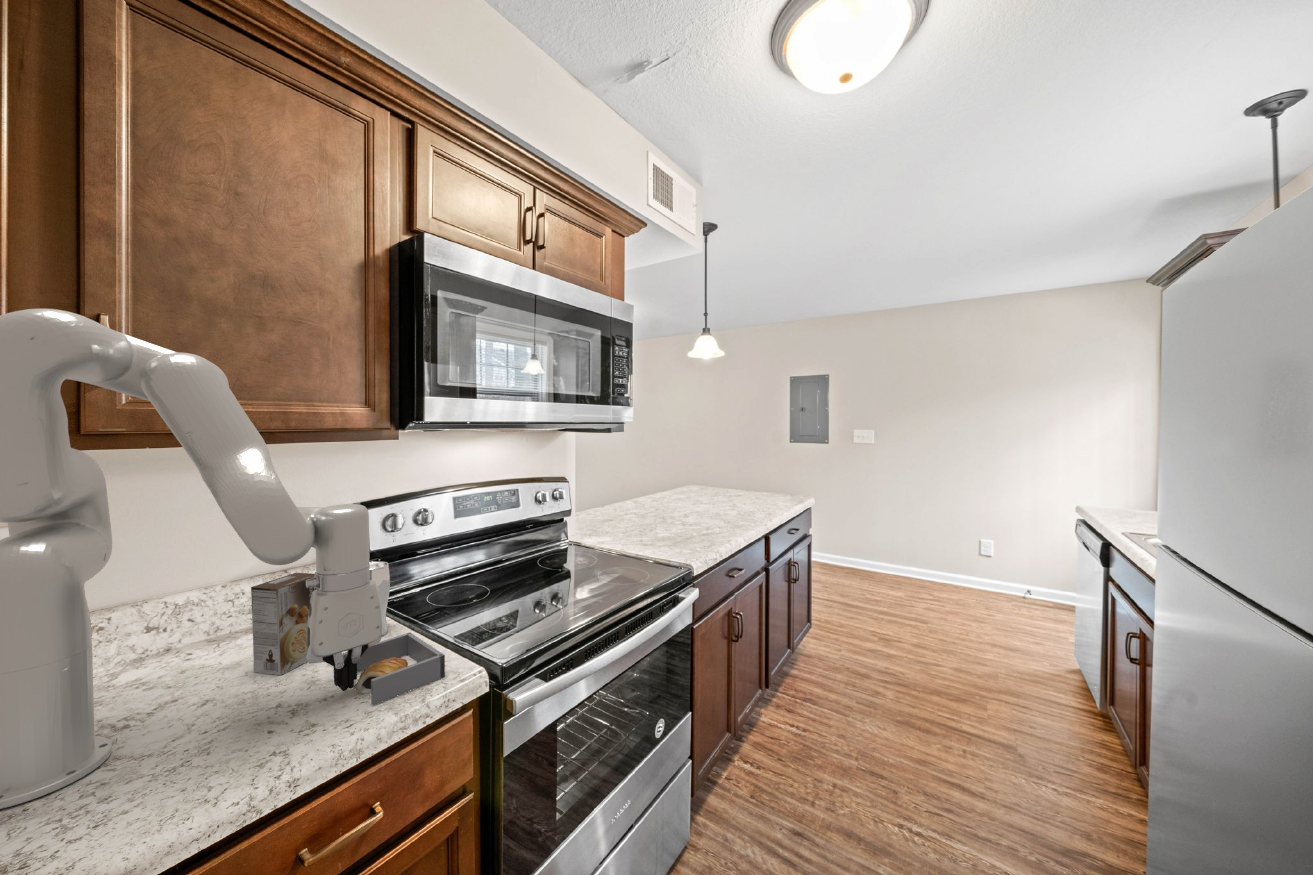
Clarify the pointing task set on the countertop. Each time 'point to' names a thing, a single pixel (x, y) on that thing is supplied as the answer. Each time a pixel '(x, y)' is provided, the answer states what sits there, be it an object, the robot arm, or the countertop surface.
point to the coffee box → (280, 623)
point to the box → (407, 677)
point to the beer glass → (381, 587)
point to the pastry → (378, 672)
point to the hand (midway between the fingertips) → (345, 686)
